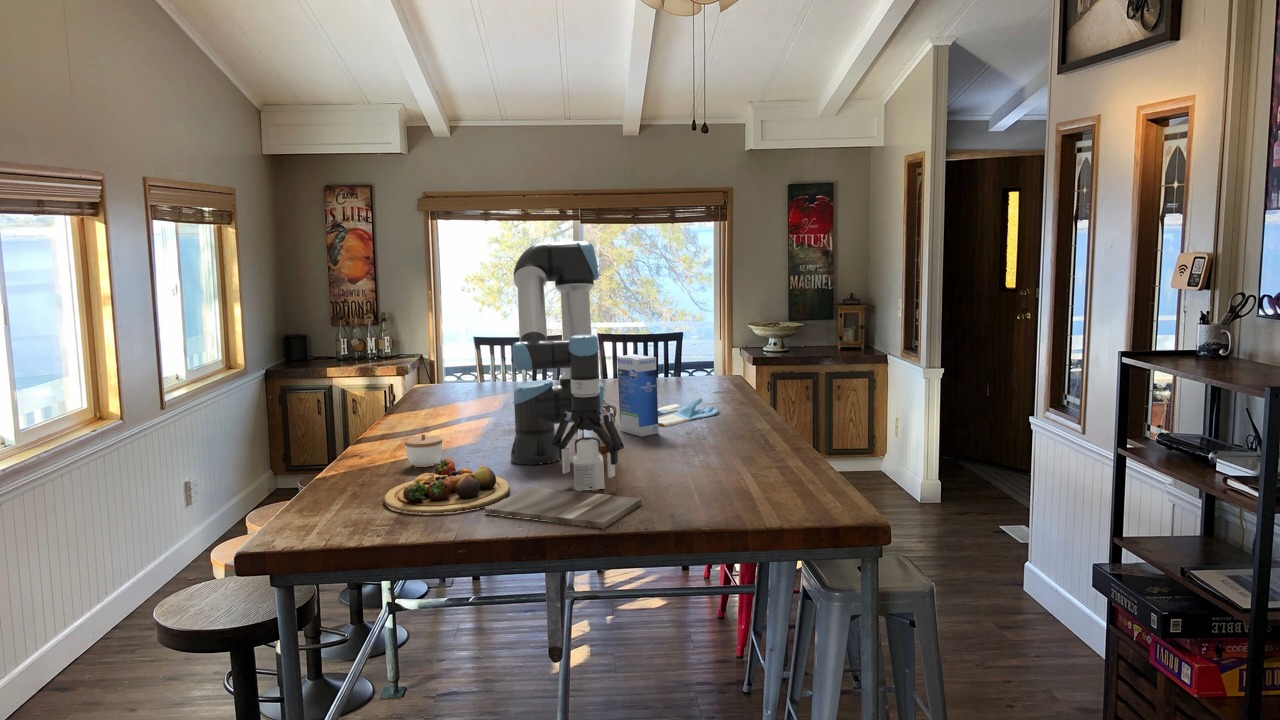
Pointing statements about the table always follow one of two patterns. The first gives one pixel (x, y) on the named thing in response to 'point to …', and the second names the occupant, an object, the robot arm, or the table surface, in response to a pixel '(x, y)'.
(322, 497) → the table surface
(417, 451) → the lidded jar
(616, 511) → the board
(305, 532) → the table surface
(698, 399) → the rubber gloves
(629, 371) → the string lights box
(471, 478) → the wooden plate with food
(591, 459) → the container
